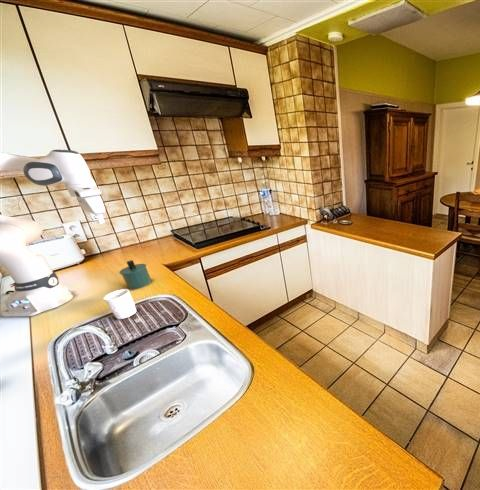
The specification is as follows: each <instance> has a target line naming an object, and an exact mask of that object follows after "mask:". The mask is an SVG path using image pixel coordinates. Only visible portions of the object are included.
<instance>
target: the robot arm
mask: <svg viewBox="0 0 480 490" xmlns="http://www.w3.org/2000/svg"><path fill="white" fill-rule="evenodd" d="M3 171H4V172H5V171H13V172H22V173H23V174H24V176H25V178H26V179H27V180H28V181H29V182H31V183H32V184H35V185H38V186H43V187H45V186H47V187H49V186H55V185H61V184H64V186H65V187H66V190H67V191H68V194H69V196H70V197H71V198H75V199H76V201H77V202H78V204H79V206H80V208H81V210H82V211H84V212H87V214H88V215H89V217H90V218H91V220H92V221H93V222H98V224H100V225H102V224H105V223H106V220H105V217H104V214H106V212H107V211H106V207H105V204H104V201H103V199H102V197H101V195H102V192H101V189H99V187H98V186H97V185H98V184H97V183H96V181H95V179H94V178H93V177H92V174H91V170H90V168H89V166H88V164H87V161H86V160H85V159H84V157H83V156H82V154H80V153H79V152H78V151H75V150H72V149H53V150H50V151H49V153H48V154H46V155H45V156H43V157H41V158H37V157H30V156H26V155H19V154H12V153H8V152H7V153H6V152H2V151H0V172H3ZM43 231H44V229H43V227H42V226H41V224H40V223H39V222H37V221H35V220H33V219H31V218H30V219H29V218H21V217H20V218H19V217H14V216H9V215H5V214H1V213H0V265H1V266H2V268H4V269H5V271H6V272H7V273H8V275H9V276H10V277H11V279H12V280H13V283H11V284H9V285H8V286H9V287H10V288H13V287H14V290H7V291H6V292H5V295H9V294H10V293H11V294H10V295H9V296H8V297H7V298H6V300H5V301H4V305H5V307H6V309H5V310H4V311H3V312H2V313H1V317H2V318H3V317H6V318H7V317H10V318H12V317H33V316H37V315H38V314H42V313H44V312H47V311H50V310H53V309H56V308H58V307H60V306H63V305H65V304H67V303H68V302H69V301H71V300H72V299H73V298H74V295H73V294H72V292H71V290H69V289H68V287H67V286H65V285H64V283H63V282H62V281H61V280H60V279H59V276H58V275H57V273H56V272H55V271H54V270H52V268H51V266H50V264H49V263H48V261H47V260H46V258H45V257H44V256H43V255H41V254H37V253H34V252H33V251H31V250H30V249H29V247H28V245H30V244H32V243H34V242H35V241H37V240H38V239H39V238H40V237H41V236H42V234H43Z"/></svg>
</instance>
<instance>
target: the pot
mask: <svg viewBox="0 0 480 490" xmlns="http://www.w3.org/2000/svg"><path fill="white" fill-rule="evenodd" d="M121 276H122V279H123V280H124V282H125V285H126V287H127V289H128V290H136V289H137V290H138V289H141V288H144V287H146V286H148V285H149V284H151V283H152V278H151V275H150V273H149V271H148V269H147V267H146V268H144V269H143V270H141V271H139V272H136V273H132V274H127V275H121Z"/></svg>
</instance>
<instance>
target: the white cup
mask: <svg viewBox="0 0 480 490" xmlns="http://www.w3.org/2000/svg"><path fill="white" fill-rule="evenodd" d="M103 301H104V302H105V304H106V305H107V307H108V308H109V310H110V312H111V313H112V314H113V315H114V317H115V319H117V320H125V319H127V318H129V317H132V316H133V315H135V314H136V313H137V307H136V304H135V302H134V299H133V296H132V294H131V291H130V289H129V288H122V289H117V290H114V291H112V292H109V293H108V294H106V295H105V296H103Z"/></svg>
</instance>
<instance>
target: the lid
mask: <svg viewBox="0 0 480 490" xmlns="http://www.w3.org/2000/svg"><path fill="white" fill-rule="evenodd" d="M126 264H127V266H126V267H124V268H122V269H121V270H119V272H118V273H119V275H121V276H122V275H127V274H132V273H136V272H139V271H141V270H143V269H144V268H146V269H147V264H145V263H137V264H135V262H134V260H132V259H131V260H127V261H126Z"/></svg>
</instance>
